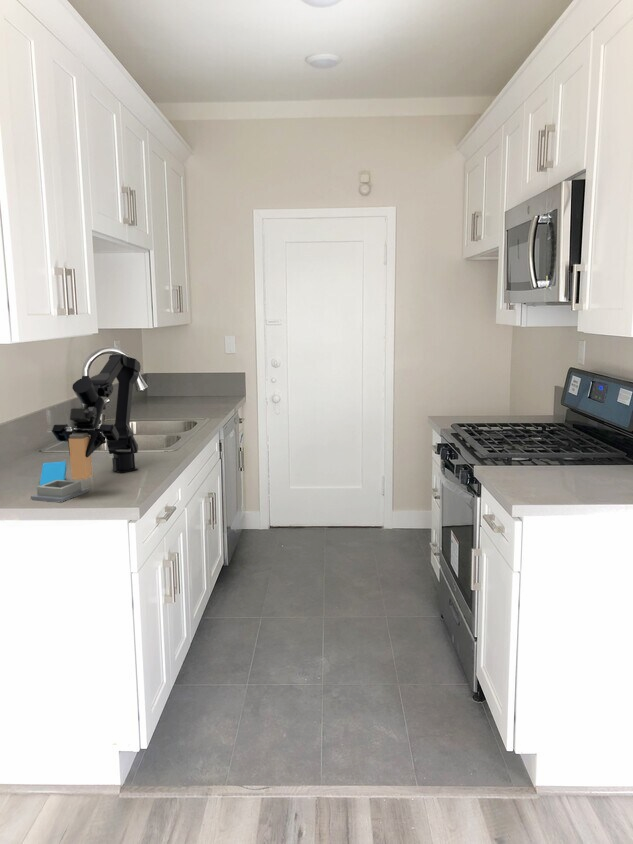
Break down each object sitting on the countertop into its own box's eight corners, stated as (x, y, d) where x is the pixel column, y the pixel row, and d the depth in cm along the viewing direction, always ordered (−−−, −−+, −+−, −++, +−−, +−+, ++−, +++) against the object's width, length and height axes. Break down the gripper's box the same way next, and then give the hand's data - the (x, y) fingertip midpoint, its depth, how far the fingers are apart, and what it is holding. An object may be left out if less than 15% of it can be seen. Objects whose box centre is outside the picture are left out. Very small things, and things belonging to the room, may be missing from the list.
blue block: (65, 502, 214) (68, 474, 230) (63, 483, 211) (66, 456, 227) (42, 504, 212) (46, 476, 228) (39, 485, 209) (44, 457, 225)
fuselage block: (78, 475, 204) (75, 432, 202) (92, 475, 204) (89, 432, 202) (71, 479, 200) (68, 435, 198) (86, 479, 199) (83, 435, 197)
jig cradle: (58, 489, 212) (57, 478, 211) (88, 491, 208) (87, 480, 208) (30, 499, 201) (29, 488, 200) (61, 502, 197) (60, 490, 196)
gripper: (51, 397, 203) (36, 441, 194) (112, 397, 201) (100, 441, 192) (66, 419, 212) (52, 462, 203) (124, 419, 210) (112, 462, 201)
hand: (78, 456), depth 199 cm, fingers closed on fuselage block, 4 cm apart
